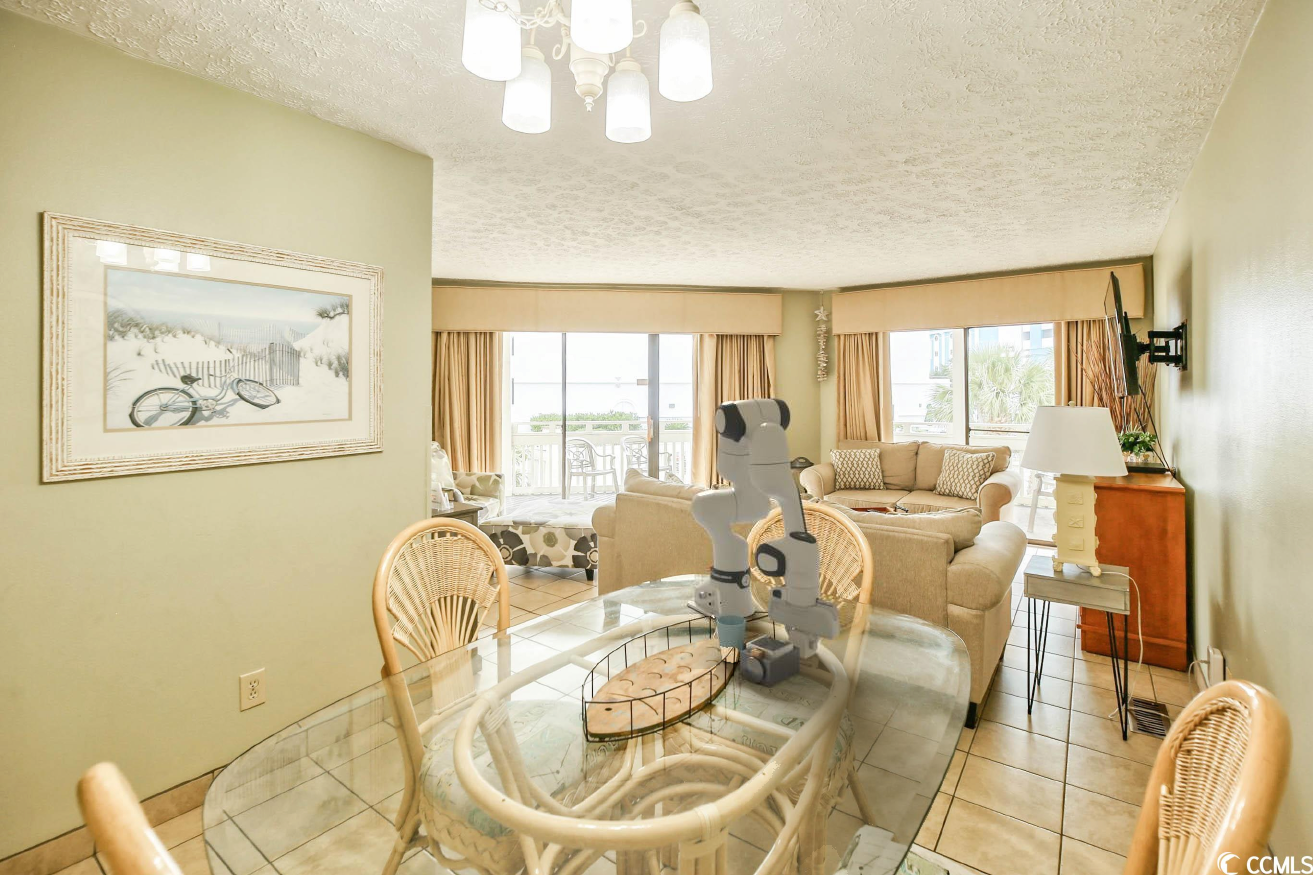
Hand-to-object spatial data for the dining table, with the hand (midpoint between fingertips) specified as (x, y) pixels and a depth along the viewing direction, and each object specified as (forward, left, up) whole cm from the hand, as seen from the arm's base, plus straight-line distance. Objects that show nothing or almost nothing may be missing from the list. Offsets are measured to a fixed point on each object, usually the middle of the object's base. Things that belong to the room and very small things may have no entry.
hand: (802, 645), depth 163 cm
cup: (-11, -16, -2) cm, 20 cm away
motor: (+1, -16, -2) cm, 16 cm away
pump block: (0, 0, -2) cm, 2 cm away
